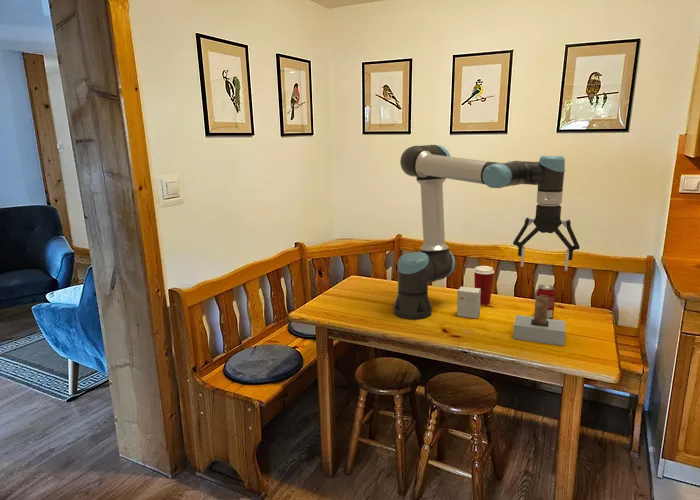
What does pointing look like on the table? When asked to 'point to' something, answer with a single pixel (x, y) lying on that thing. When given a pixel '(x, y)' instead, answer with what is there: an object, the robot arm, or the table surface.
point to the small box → (468, 302)
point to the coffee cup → (484, 282)
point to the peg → (540, 311)
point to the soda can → (550, 294)
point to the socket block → (539, 330)
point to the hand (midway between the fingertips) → (543, 267)
